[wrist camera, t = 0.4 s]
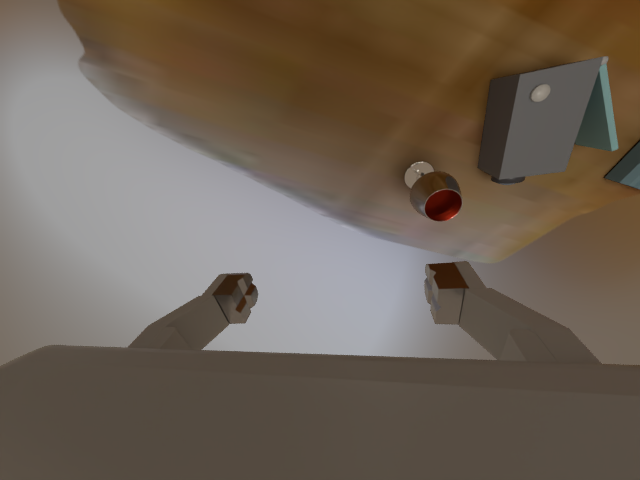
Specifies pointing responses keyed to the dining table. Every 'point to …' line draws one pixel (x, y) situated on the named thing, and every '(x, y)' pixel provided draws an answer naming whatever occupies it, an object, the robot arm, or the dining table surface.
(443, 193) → the wineglass
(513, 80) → the housing
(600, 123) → the side door
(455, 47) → the dining table surface
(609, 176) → the book
